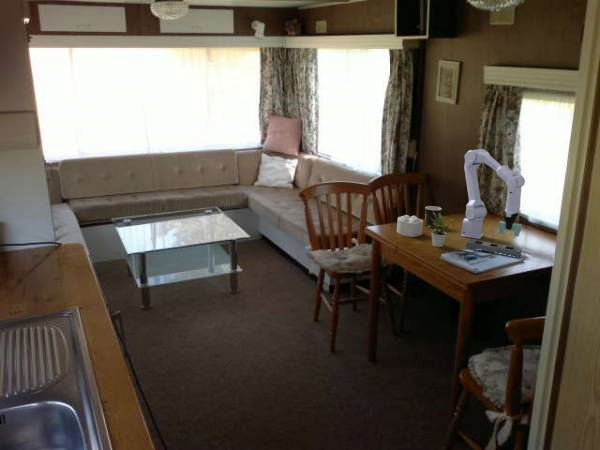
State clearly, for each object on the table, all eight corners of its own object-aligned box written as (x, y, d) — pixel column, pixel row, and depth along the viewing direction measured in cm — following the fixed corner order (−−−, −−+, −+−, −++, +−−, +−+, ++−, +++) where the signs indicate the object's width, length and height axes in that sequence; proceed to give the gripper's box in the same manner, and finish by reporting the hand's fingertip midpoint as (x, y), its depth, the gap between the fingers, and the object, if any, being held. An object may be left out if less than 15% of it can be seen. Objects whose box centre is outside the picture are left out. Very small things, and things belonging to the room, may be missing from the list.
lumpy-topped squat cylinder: (412, 237, 277) (413, 221, 274) (391, 231, 286) (393, 215, 283) (424, 234, 283) (425, 217, 281) (404, 228, 293) (405, 212, 290)
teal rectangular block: (497, 233, 265) (498, 222, 263) (498, 231, 267) (500, 221, 266) (519, 236, 260) (520, 225, 259) (520, 235, 262) (521, 224, 261)
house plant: (415, 241, 270) (417, 209, 266) (438, 238, 275) (441, 207, 271) (432, 250, 258) (435, 217, 253) (456, 247, 263) (459, 214, 258)
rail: (465, 248, 262) (466, 242, 261) (469, 245, 267) (469, 239, 266) (518, 258, 250) (519, 251, 250) (521, 254, 255) (522, 248, 255)
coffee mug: (427, 222, 303) (428, 205, 300) (442, 225, 298) (444, 207, 296) (418, 227, 294) (420, 209, 291) (433, 230, 289) (435, 212, 286)
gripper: (519, 205, 251) (515, 233, 255) (524, 199, 263) (520, 226, 267) (503, 202, 255) (499, 230, 258) (509, 196, 267) (505, 223, 270)
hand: (509, 228), depth 263 cm, fingers closed on teal rectangular block, 3 cm apart
